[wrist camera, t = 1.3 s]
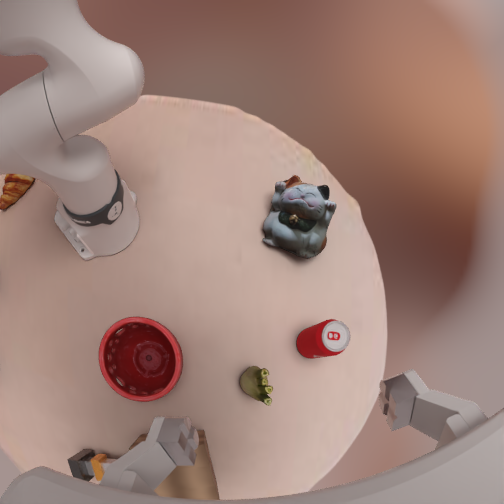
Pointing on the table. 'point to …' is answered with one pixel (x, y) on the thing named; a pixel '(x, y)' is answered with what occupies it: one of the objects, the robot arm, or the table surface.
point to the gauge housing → (190, 476)
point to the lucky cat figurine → (299, 217)
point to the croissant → (14, 188)
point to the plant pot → (140, 359)
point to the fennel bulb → (256, 384)
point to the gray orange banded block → (89, 465)
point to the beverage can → (323, 339)
